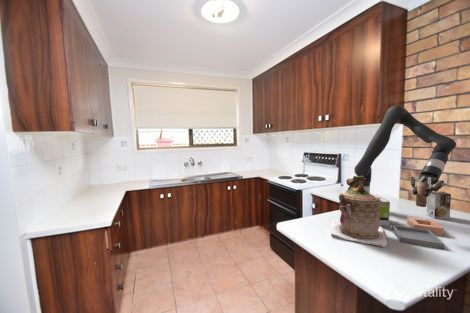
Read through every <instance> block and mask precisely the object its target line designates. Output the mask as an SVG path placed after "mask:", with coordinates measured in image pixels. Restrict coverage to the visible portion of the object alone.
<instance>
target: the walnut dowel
mask: <svg viewBox="0 0 470 313" xmlns="http://www.w3.org/2000/svg"><path fill="white" fill-rule="evenodd" d="M416 184H417V194H416V195H415V196H416V197H415V198H416V200H415V206H417V207H420V208H421V207H422V208H427V197H428V196H427V197H425V196H424V193H425V191H426V189H428V183H425V182H418V181H416Z"/></svg>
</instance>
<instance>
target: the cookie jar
mask: <svg viewBox="0 0 470 313" xmlns="http://www.w3.org/2000/svg"><path fill="white" fill-rule="evenodd" d="M365 180H366V178H364V176H360V177H359V176H357V175H353V177H351V178H347V179H346V185H347V186H349V187H348V188H347V190H345V191H343V192H341V193H339V194H338V200H339V207H338V209H339V211H340V213H341V214H340V218H339V219H338V220H337V219H333V222H332V225H331V231H330V235H331V236H333V237H334V236H335V237H338V238H339V239H340V240H346V241H352V242H357V243H362V244H368V245H372V246H373V245H374V246H378V247H382V248H385V249H386V247H387V245H388V241H387V237H386V236H385V234H384V229H383V226H380V214H379V202H380V197H381V196H380V197H378V196H379V195H377V196H375V194H371V193H370V194H369V193H368V192H367V191H365V190H364V186H363V185H364V181H365Z"/></svg>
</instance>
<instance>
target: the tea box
mask: <svg viewBox="0 0 470 313" xmlns="http://www.w3.org/2000/svg"><path fill="white" fill-rule="evenodd" d="M374 195H375V194H374ZM375 196H378V197H380V202H379V214H380V227H388V226H389V225H390V224H389V223H390V210H391V209H390V207H391V202H390V200H388V199H385V198H383V197H382V196H379V195H375Z"/></svg>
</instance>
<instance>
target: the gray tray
mask: <svg viewBox="0 0 470 313" xmlns="http://www.w3.org/2000/svg"><path fill="white" fill-rule="evenodd" d="M391 231H392V233H394V235H395V237H396V238H397V240H398V241H399V242H400V243H403V244H409V245H417V246H423V247H428V248H434V249H440V250H444V249H445V243H444V242H443V241H442V240H441V239H439V238H438V236H437V235H434V234H433V233H432V232H431V231H430V230H426V229H418V228H411V227H409V226H402V225H396V224H391Z"/></svg>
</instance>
